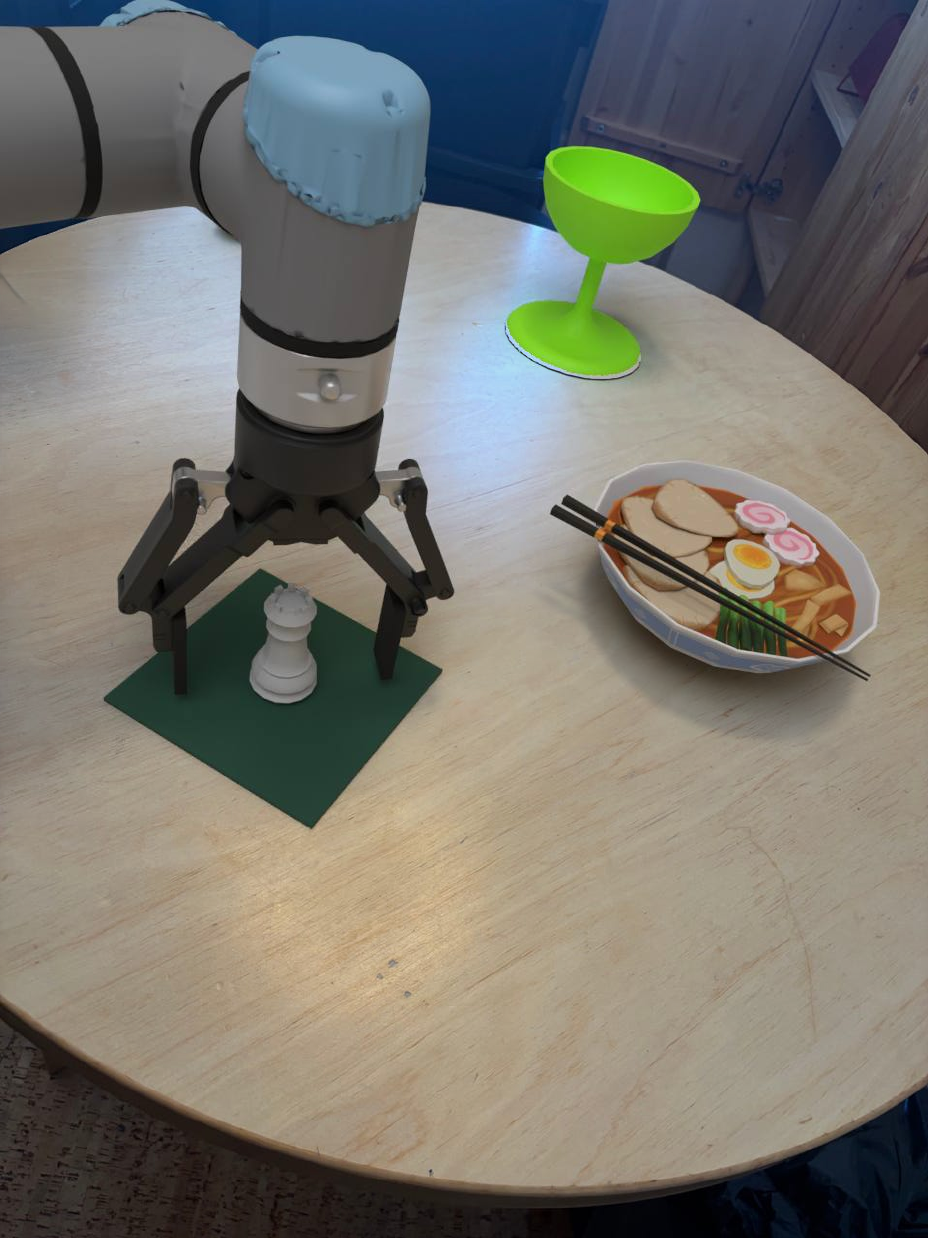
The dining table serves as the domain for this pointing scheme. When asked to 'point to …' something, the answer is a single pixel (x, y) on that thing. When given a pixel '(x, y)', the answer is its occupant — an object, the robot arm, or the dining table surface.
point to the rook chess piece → (286, 648)
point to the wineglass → (601, 250)
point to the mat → (272, 732)
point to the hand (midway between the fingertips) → (284, 671)
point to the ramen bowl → (730, 566)
